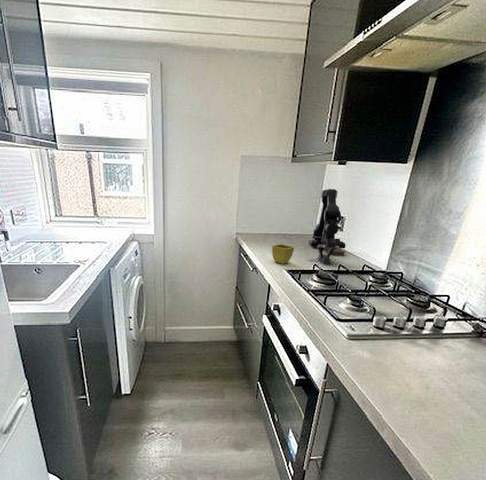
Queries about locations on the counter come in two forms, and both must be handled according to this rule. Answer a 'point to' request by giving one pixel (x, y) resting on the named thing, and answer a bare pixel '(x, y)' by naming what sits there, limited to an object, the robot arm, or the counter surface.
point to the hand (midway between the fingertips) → (324, 258)
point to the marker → (324, 259)
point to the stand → (336, 251)
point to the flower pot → (282, 253)
